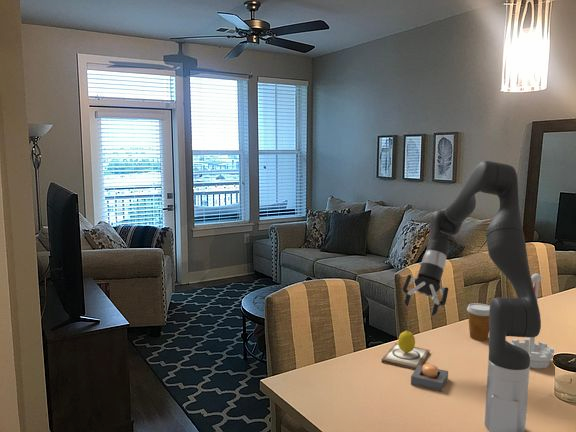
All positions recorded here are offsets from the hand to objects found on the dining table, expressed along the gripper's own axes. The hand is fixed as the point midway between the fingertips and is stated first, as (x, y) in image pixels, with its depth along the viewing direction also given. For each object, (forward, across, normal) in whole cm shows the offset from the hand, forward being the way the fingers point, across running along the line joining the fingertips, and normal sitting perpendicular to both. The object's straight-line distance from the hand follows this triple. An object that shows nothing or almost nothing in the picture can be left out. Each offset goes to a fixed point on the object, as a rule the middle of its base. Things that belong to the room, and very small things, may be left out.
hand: (419, 311), depth 155 cm
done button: (+19, +8, -7) cm, 21 cm away
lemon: (+14, +1, +9) cm, 16 cm away
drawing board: (+15, +1, +10) cm, 18 cm away
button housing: (+20, +8, -6) cm, 23 cm away
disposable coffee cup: (-4, +26, +30) cm, 40 cm away
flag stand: (+1, +40, +13) cm, 42 cm away
